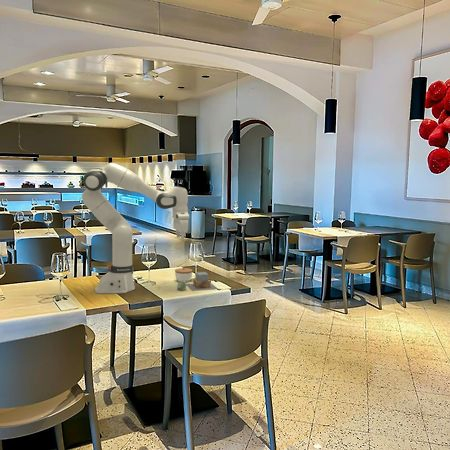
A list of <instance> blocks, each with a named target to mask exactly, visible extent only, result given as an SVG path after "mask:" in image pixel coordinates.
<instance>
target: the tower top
mask: <svg viewBox="0 0 450 450" xmlns="http://www.w3.org/2000/svg"><path fill="white" fill-rule="evenodd" d="M194 279H196V280H197V281H198V282H199V281H208V280H209V274H208V272H206V271H200V272H198V271H197V272H195V278H194Z"/></svg>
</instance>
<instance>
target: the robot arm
mask: <svg viewBox="0 0 450 450" xmlns="http://www.w3.org/2000/svg"><path fill="white" fill-rule="evenodd" d="M82 178H83V179H82V183H83V185H84V187H85V190H84V191H83V192H82V194H81V200H82V202H83V203H84V205H85V206H86V208H87V209H88V210H89V211H90V212H91V214H93V216H94V217H95V218H96V219H97V220H98V221H99V222H100V224H101V225H103V226H104V227H105V228H106V229H107V230H108V231H109V232H110V234H112V235H111V237H112V239H111V240H112V241H111V242H112V249H111V251H112V255H111V256H112V262H111V263H112V264H108V265H107V268H108V272H107V273H106V274H104V275H102V277H100V279H99V282H98V285H97V286H95V288H94V292H95V293H97V294H126V293H128V292H131V291H133V290H135V289H136V286H135V282H134V277H133V274H134V264H133V229H132V226H131V225H130V223H129V222H128V221H127V220H126V218H125V217H123V215H122V214H121V213H120V212H119V211H118V210H117V209H116V208H115V206H113V204H112V203H111V202H110V201H109V200H108V199H107V197H105V196H104V195H103V193H102V189H103V188H104V186H105V185H106V184H107V183H110V184H113V185H115V186H117V187H119V188H121V189H123V190H125V191H128V192H135V193H139V194H142V195H144V196H146V197H147V198H149V199H151V200H152V201H153V202H154V203H155V204H156V205H157V207H158V208H160V209H161V210H168V209H172V210H171V211H172V215H171V216H172V218H173V224H172V225H173V229H174V230H175V233H176V238H180V240H181V241H184V240H185V235H186V233H188V231H189V219H190V214H189V208H188V202H189V196H188V190H187V189H186V188H185V187H184V186H183V187H182V186H177V185H175V186H174V185H173V186H172V187H171V188H169V189H168V190H159V189H157V188H155V187H153V186H152V185H150V184H148V183H146V182H145V181H144V180H142V178H140V177H139V175H137V174H136V173H135V172H133V171H132V170H131V169H129V168H127V167H125V166H122V165H121V164H118V163H115V162H109V163H107V164H106V165H105V166H104V168H102V169H101V168H98V167H95V168H92V169H90V170H87V172H86V173H85V174H84V175H83V177H82Z"/></svg>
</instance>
